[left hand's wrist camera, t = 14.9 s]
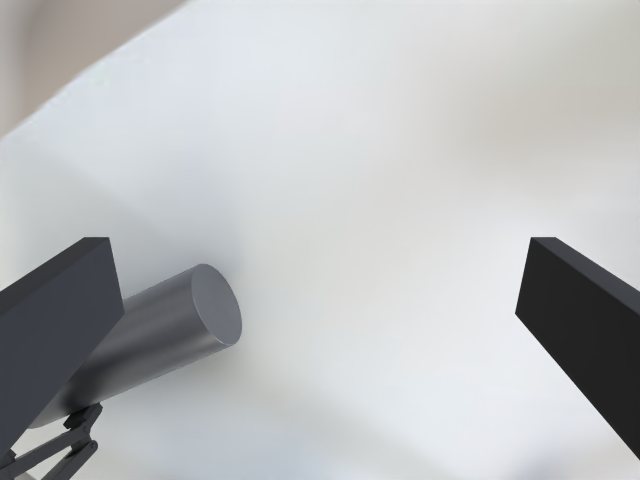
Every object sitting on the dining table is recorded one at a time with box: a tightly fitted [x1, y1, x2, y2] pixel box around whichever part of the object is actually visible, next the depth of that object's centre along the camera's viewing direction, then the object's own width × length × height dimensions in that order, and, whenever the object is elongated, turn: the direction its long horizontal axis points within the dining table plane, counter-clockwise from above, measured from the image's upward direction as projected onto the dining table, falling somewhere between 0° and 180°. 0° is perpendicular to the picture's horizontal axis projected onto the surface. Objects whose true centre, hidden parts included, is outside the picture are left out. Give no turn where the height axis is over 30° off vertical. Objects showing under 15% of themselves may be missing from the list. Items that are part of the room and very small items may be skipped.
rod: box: [27, 264, 242, 429], centre depth 42 cm, size 24×9×9 cm, turn 116°
